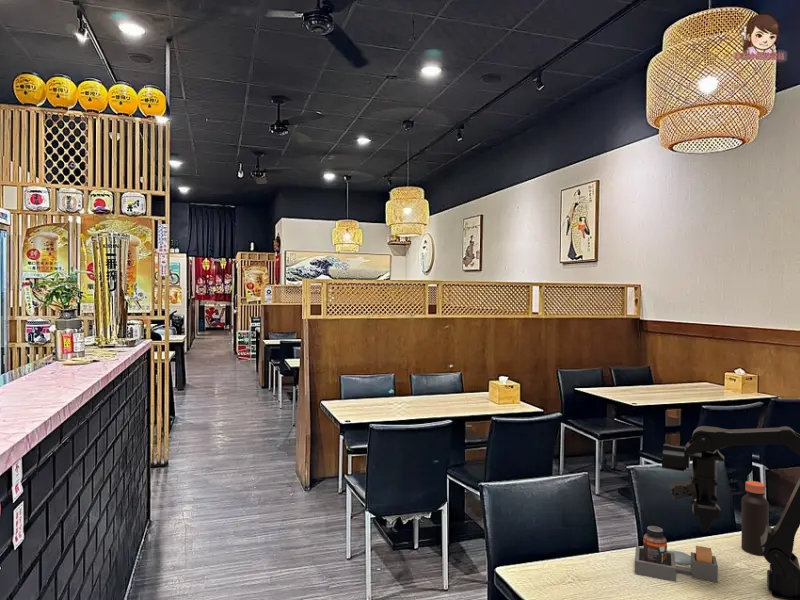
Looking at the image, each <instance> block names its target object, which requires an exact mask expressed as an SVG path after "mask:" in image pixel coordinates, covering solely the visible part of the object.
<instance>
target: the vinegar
mask: <svg viewBox="0 0 800 600" xmlns="http://www.w3.org/2000/svg"><path fill="white" fill-rule="evenodd" d="M744 486H745V492H746V493H745V494H744V495H743V496H742V498H741V541H740V543H741V549H742V550H743V551H744V552H746V553H748V554H751V555H755V556H762V557H764V555H763V548H762V546H761V538H760V537H761V536H762V535H763V534H764V533H765V529H766V525H768V526H770V524H769V523H770V521H769V520H770V518H769V517H770V515H769V514H770V513H769V512H770V504H769V501H768V500H767V499H766V497H765V494H766V485H765V484H764V483H762V482H760V481H755V480H746V481H745V485H744Z"/></svg>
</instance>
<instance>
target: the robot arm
mask: <svg viewBox="0 0 800 600" xmlns="http://www.w3.org/2000/svg"><path fill="white" fill-rule="evenodd" d="M766 445H767V446H771V445H784V446H786V447H787V448H789V449H790V450H791V451H793V452H794V453H795V454H797V455H798V457H800V433H797V431H794V429H793V428H791V427H790V426H786V425H785V426H780V427H763V428H762V427H761V428H760V427H758V428H738V429H737V428H736V429H727V428H722V427H718V426H707V425H702V426H698V427H696V428H695V429H694V430H693V432H692V435H691V439H690V440H689V441H688V442H686V444H685V446H681V445H672V444H669V443H664V444H663V446H662V449H663V450H662V457H661V468H662V469H663V470H670V471H676V472H683V473H685V472H686V471H687V469H688V470H689V469H690V467H691V466H692V467H691V472H692V473H691V475H690V479H687V480H680V481H676V482H671V483H669V485H668V489H669V491H670V493H671V496H672V499H673V500H675V501H676V500H680V499H683V498H687V497H691V499H692V500H691V501H690V502H691V508H692V514H693V515H694V516H697V517H698V519H699V523H700V528H701V533H706V534H707V533H708V531H709V529H710V527H711V525H712V523H714V521H715V519H717V520H719V519H722V511H721V507H720V506H719V505H718V504H717V503H716V502H718V496H717V487H718V481H717V462H724V461H725V456H724V455H723V454H722V453H721V452H720V450H721V449H722V450H723V449H725V448H729V447H733V446H734V447H735V446H739V447H740V446H741V447H742V446H766ZM712 451H713V452H712ZM691 458H692V459H691ZM690 463H692V464H691V465H690ZM789 497H790V498H789V499H788V501H787V503H786V506H785V507H784V510H783V512H782V514H781V516H780V518H779V520H778V522H777V524H775V525H774V526H773V527H771V526H770V525H769V526H768V525H766V529H765V533H764V534H763V535H762V536H761V537H760V538H761V546H762V548H763V557H764V559H765V561H767V563H768V564H769V569H767V570H766V586H767V589H768V591H769V592H770V594H771V596H772V597H774V598H779V599H784V600H800V562H799V558H798V556H797V555H796V554H794V545H795V538H796V537H795V536H796V534H797V532H798V531H799V527H800V477H799V479H798V480H797V482H796V484H795V487H794V489H793V491H792V493H791V494H790V496H789Z"/></svg>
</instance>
